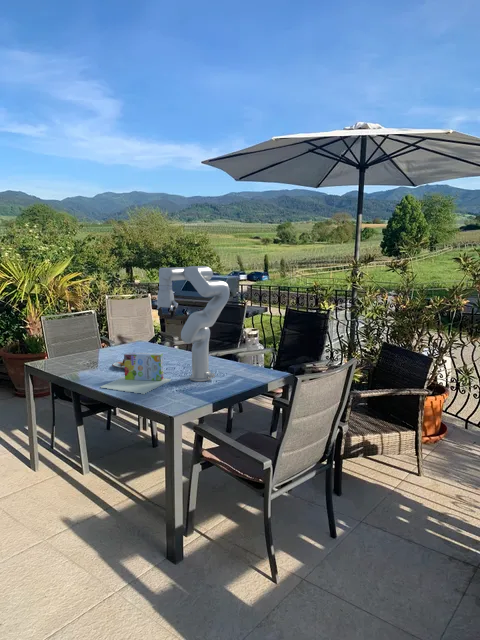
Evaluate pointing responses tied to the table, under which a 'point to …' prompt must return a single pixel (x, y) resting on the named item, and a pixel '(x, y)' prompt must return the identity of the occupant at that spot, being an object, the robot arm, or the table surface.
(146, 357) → the snack box
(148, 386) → the mat
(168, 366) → the table surface
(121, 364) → the food on plate
